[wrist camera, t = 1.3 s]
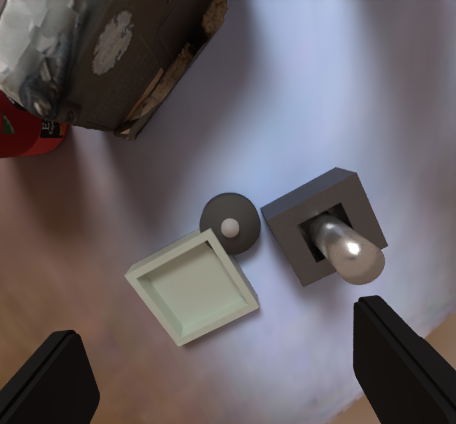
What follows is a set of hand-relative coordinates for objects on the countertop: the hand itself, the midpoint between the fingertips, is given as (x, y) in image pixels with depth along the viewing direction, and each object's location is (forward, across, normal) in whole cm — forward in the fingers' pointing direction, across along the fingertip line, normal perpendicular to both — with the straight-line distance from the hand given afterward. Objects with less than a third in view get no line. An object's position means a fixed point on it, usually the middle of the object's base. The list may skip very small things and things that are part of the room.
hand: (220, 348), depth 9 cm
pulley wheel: (+23, 0, +3) cm, 24 cm away
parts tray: (+23, +5, +11) cm, 26 cm away
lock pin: (+22, -10, +4) cm, 25 cm away
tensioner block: (+23, -10, +4) cm, 26 cm away
